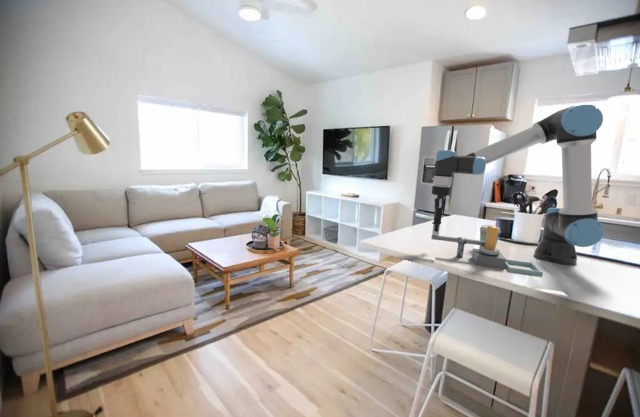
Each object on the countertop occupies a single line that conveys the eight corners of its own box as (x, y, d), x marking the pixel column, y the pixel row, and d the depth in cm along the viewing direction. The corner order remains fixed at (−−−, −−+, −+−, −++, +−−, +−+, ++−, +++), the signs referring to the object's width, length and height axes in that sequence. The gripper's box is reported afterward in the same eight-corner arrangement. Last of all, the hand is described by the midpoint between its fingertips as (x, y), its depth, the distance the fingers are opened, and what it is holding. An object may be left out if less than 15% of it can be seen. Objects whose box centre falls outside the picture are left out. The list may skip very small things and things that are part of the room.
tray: (531, 268, 121) (532, 262, 120) (541, 278, 111) (543, 272, 110) (500, 264, 124) (501, 258, 124) (508, 273, 114) (509, 267, 113)
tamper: (495, 261, 124) (500, 226, 122) (499, 267, 118) (505, 230, 115) (475, 258, 126) (481, 224, 124) (479, 264, 120) (484, 227, 117)
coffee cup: (500, 255, 136) (504, 230, 134) (479, 253, 137) (483, 228, 135) (493, 250, 144) (497, 225, 142) (474, 248, 146) (477, 224, 144)
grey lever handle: (489, 261, 126) (492, 241, 125) (491, 264, 123) (494, 243, 121) (429, 253, 133) (431, 233, 132) (429, 255, 130) (432, 235, 128)
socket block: (497, 262, 126) (499, 251, 125) (504, 271, 116) (506, 259, 115) (452, 256, 131) (453, 245, 130) (455, 264, 121) (456, 252, 120)
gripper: (431, 184, 139) (425, 233, 143) (433, 186, 127) (426, 240, 131) (449, 185, 137) (442, 235, 141) (452, 188, 124) (445, 242, 129)
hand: (434, 237), depth 136 cm, fingers closed
